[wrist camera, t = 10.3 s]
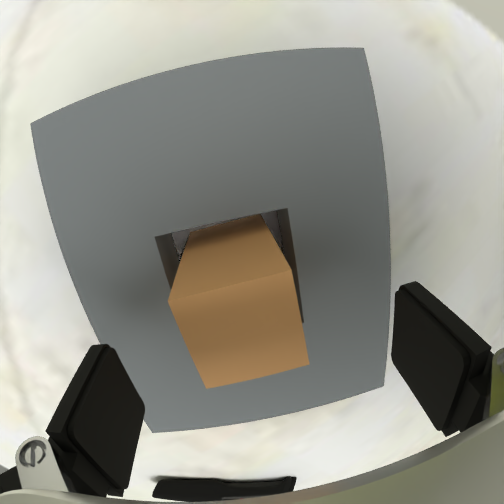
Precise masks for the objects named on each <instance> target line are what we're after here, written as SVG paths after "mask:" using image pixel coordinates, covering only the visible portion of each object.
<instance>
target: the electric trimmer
mask: <svg viewBox="0 0 504 504" xmlns="http://www.w3.org/2000/svg"><path fill="white" fill-rule="evenodd" d="M295 483H296V478H293V479H292V478H291V476H289V477H287V478H286V479H285V480H283V481H271V482H253V483H223V482H221V481H219V480H160V481H159V482H158V483H157V485H156V487H155V489H154V491H153V494H152V497H154V498H160V499H167V500H175V501H184V502H209V501H225V500H237V499H247V498H255V497H262V496H269V495H276V494H282V493H287V492H293V489H294V486H295Z"/></svg>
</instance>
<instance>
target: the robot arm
mask: <svg viewBox="0 0 504 504" xmlns="http://www.w3.org/2000/svg"><path fill="white" fill-rule="evenodd" d="M490 350H491V346H490V345H489V344H487V343H486V342H485V341H484V340H483V339H482V338H481V337H480V336H479V335H478V334H477V333H476V332H475V331H474V330H472V329H471V328H470V327H469V326H468V325H467V324H466V323H465V322H464V321H463V320H461V319H460V318H459V317H458V316H457V315H456V314H455V313H454V312H452V311H451V310H450V309H449V308H448V307H447V306H446V305H444V304H443V303H442V302H441V301H440V300H439V299H437V298H436V297H435V296H434V295H433V294H431V293H430V292H429V291H428V290H427V289H426V288H424V287H423V286H422V285H421V284H420V283H418V282H416V281H415V282H411V283H408V284H404V285H401V286H400V288H399V291H396V293H395V308H394V326H393V340H392V352H391V357H392V361H393V364H394V365H395V367H396V368H397V370H398V371H399V373H400V374H401V376H402V377H403V379H404V380H405V382H406V383H407V385H408V386H409V388H410V389H411V391H412V392H413V394H414V395H415V397H416V398H417V400H418V402H419V403H420V405H421V406H422V408H423V409H424V411H425V412H426V414H427V416H428V417H429V419H430V420H431V422H432V423H433V425H434V427H435V428H436V429H437V430H438V431H440V430H442V432H443V433H444V435H445V437H447V436H449V435H451V434H453V433H455V432H457V431H458V430H459V431H460V432H461V433H459V434H457V435H455V436H453V437H451V438H449V439H447V440H445V441H443V442H441V443H439V444H437V445H435V446H432V447H430V448H428V449H426V450H424V451H421V452H419V453H417V454H414V455H412V456H410V457H407V458H405V459H402V460H400V461H397V462H395V463H392V464H389V465H387V466H384V467H381V468H378V469H375V470H372V471H369V472H366V473H363V474H360V475H357V476H354V477H350V478H347V479H343V480H340V481H336V482H332V483H328V484H325V485H320V486H316V487H312V488H307V489H303V490H298V491H293V492H287V493H282V494H276V495H269V496H262V497H255V498H247V499H237V500H225V501H209V502H152V501H136V500H125V499H115V498H106V496H107V494H108V495H111V496H119V497H123V493H124V489H127V488H128V485H129V481H130V476H131V471H132V466H133V462H134V457H135V453H136V448H137V444H138V440H139V435H140V431H141V427H142V423H143V419H144V414H145V405H144V402H143V400H142V399H141V397H140V395H139V393H138V392H137V390H136V388H135V386H134V385H133V383H132V381H131V379H130V377H129V375H128V373H127V372H126V370H125V368H124V366H123V364H122V362H121V360H120V358H119V356H118V354H117V352H116V350H115V349H114V348H113V347H110V346H109V345H108V344H99V345H92V346H91V347H90V349H89V350H88V352H87V354H86V356H85V357H84V359H83V361H82V363H81V364H80V366H79V368H78V370H77V371H76V373H75V375H74V377H73V379H72V381H71V382H70V384H69V386H68V388H67V390H66V392H65V394H64V396H63V397H62V399H61V401H60V403H59V405H58V407H57V409H56V411H55V413H54V415H53V417H52V419H51V421H50V423H49V425H48V427H47V429H46V432H47V434H48V435H49V436H50V437H49V439H48V440H47V439H45V438H44V437H40V436H35V437H31V438H29V439H27V440H25V441H24V442H23V443H22V444H21V445H20V446H19V448H18V450H17V452H16V456H15V460H16V466H15V467H13V468H11V469H10V470H8V471H6V472H4V473H2V474H1V475H0V504H504V348H502V349H500V350H498V351H497V352H496V353H495V355H494V354H493V353H492V352H491V351H490Z"/></svg>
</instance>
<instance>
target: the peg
mask: <svg viewBox="0 0 504 504" xmlns="http://www.w3.org/2000/svg"><path fill="white" fill-rule="evenodd" d="M168 303H169V306H170V308H171V311H172V313H173V315H174V318H175V320H176V323H177V325H178V327H179V330H180V332H181V334H182V337H183V339H184V341H185V344H186V346H187V348H188V350H189V353H190V355H191V357H192V359H193V362H194V364H195V366H196V368H197V370H198V372H199V374H200V377H201V379H202V381H203V383H204V385H205V387H206V389H208V388H214V387H219V386H224V385H229V384H233V383H238V382H243V381H247V380H251V379H256V378H260V377H264V376H268V375H272V374H276V373H280V372H284V371H287V370H291V369H295V368H298V367H302V366H306V365H309V358H308V353H307V347H306V342H305V336H304V331H303V326H302V321H301V315H300V310H299V305H298V300H297V295H296V290H295V285H294V280H293V275H292V270H291V268H290V266H289V264H288V263H287V261H286V259H285V257H284V255H283V253H282V252H281V250H280V248H279V246H278V244H277V243H276V241H275V239H274V237H273V236H272V234H271V232H270V230H269V228H268V227H267V225H266V223H265V221H264V219H263V218H262V216H261V214H257V215H253V216H249V217H246V218H242V219H238V220H234V221H230V222H226V223H223V224H219V225H215V226H211V227H208V228H204V229H200V230H196V231H193V232H190V234H189V237H188V240H187V243H186V246H185V249H184V252H183V255H182V258H181V261H180V264H179V267H178V270H177V273H176V276H175V279H174V283H173V286H172V289H171V292H170V295H169V298H168Z"/></svg>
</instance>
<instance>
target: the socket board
mask: <svg viewBox="0 0 504 504" xmlns="http://www.w3.org/2000/svg"><path fill="white" fill-rule="evenodd" d="M31 130H32V137H33V143H34V148H35V153H36V159H37V163H38V168H39V173H40V177H41V182H42V186H43V190H44V194H45V198H46V201H47V205H48V209H49V212H50V216H51V219H52V223H53V226H54V229H55V233H56V236H57V239H58V242H59V245H60V248H61V251H62V254H63V257H64V259H65V262H66V265H67V268H68V270H69V273H70V276H71V278H72V281H73V283H74V286H75V288H76V291H77V293H78V296H79V298H80V300H81V303H82V305H83V308H84V310H85V312H86V314H87V317H88V319H89V321H90V323H91V325H92V327H93V330H94V332H95V334H96V336H97V338H98V340H99V342H100V344H108V345H109V346H110V347H113V348H114V349H115V350H116V352H117V354H118V356H119V358H120V360H121V362H122V364H123V366H124V368H125V370H126V372H127V373H128V375H129V377H130V379H131V381H132V383H133V385H134V386H135V388H136V390H137V392H138V393H139V395H140V397H141V399H142V400H143V402H144V405H145V414H144V421H145V422H146V424H147V426H148V427H149V428H150V430H151V431H152V433H158V432H173V431H185V430H195V429H204V428H212V427H219V426H226V425H233V424H239V423H245V422H251V421H256V420H262V419H267V418H272V417H276V416H281V415H286V414H290V413H294V412H298V411H303V410H307V409H310V408H314V407H318V406H322V405H325V404H329V403H333V402H336V401H339V400H343V399H346V398H349V397H352V396H356V395H359V394H362V393H365V392H368V391H371V390H374V389H376V388H379V387H382V386H384V378H385V369H386V359H387V348H388V334H389V317H390V285H391V257H390V225H389V207H388V193H387V182H386V172H385V163H384V154H383V146H382V139H381V132H380V125H379V119H378V113H377V107H376V102H375V96H374V91H373V86H372V81H371V77H370V72H369V68H368V63H367V59H366V55H365V51H364V48H312V49H296V50H283V51H273V52H264V53H256V54H249V55H242V56H236V57H230V58H224V59H218V60H213V61H208V62H203V63H199V64H194V65H190V66H185V67H181V68H177V69H173V70H169V71H165V72H162V73H158V74H155V75H151V76H148V77H144V78H141V79H138V80H135V81H132V82H128V83H125V84H122V85H119V86H117V87H114V88H111V89H108V90H105V91H103V92H100V93H97V94H95V95H92V96H90V97H87V98H85V99H82V100H80V101H77V102H75V103H73V104H70V105H68V106H66V107H64V108H61V109H59V110H57V111H55V112H53V113H51V114H49V115H46V116H44V117H42V118H40V119H38V120H36V121H34V122H32V123H31ZM275 210H277V213H278V219H279V225H280V231H281V237H282V243H283V249H284V255H285V259H286V261H287V263H288V264H289V266H290V268H291V270H292V275H293V280H294V285H295V290H296V295H297V300H298V305H299V310H300V315H301V321H302V326H303V331H304V336H305V342H306V347H307V353H308V358H309V365H306V366H302V367H298V368H295V369H291V370H287V371H284V372H280V373H276V374H272V375H268V376H264V377H260V378H256V379H251V380H247V381H243V382H238V383H233V384H229V385H224V386H219V387H214V388H208V389H206V387H205V385H204V383H203V381H202V379H201V377H200V374H199V372H198V370H197V368H196V366H195V364H194V362H193V359H192V357H191V355H190V353H189V350H188V348H187V346H186V344H185V341H184V339H183V337H182V334H181V332H180V330H179V327H178V325H177V323H176V320H175V318H174V315H173V313H172V311H171V308H170V306H169V303H168V298H169V295H170V292H171V289H172V286H173V283H174V279H175V276H176V273H177V270H178V267H179V264H180V263H179V260H178V256H177V253H176V249H175V245H174V242H173V238H172V234H171V233H173V232H177V231H181V230H186V229H190V228H195V227H199V226H204V225H208V224H213V223H217V222H222V221H227V220H231V219H236V218H241V217H246V216H250V215H255V214H260V213H265V212H270V211H275Z"/></svg>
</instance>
